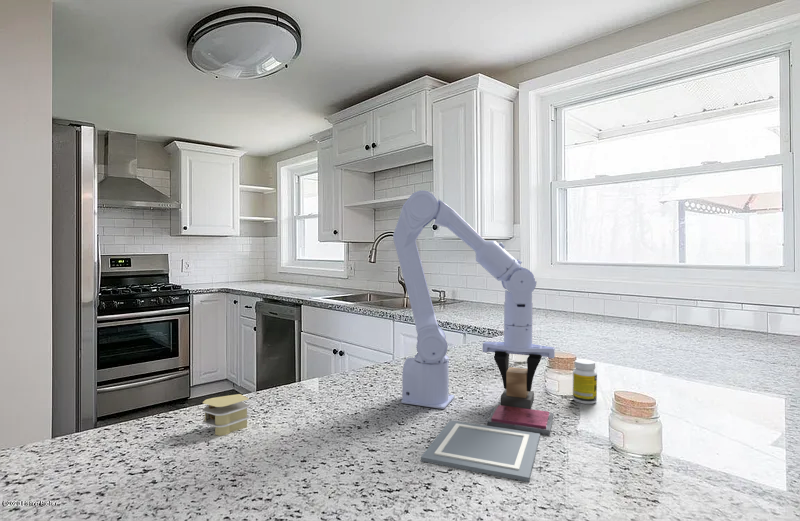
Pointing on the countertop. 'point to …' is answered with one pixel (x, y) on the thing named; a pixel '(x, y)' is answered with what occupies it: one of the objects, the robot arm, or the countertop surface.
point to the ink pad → (521, 419)
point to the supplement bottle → (585, 382)
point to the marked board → (484, 449)
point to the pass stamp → (517, 389)
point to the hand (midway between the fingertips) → (517, 388)
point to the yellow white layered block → (226, 413)
